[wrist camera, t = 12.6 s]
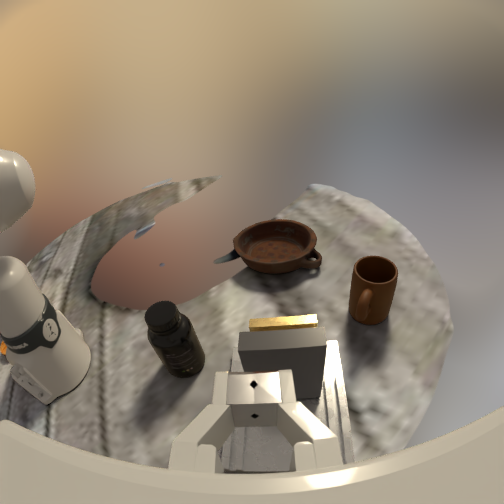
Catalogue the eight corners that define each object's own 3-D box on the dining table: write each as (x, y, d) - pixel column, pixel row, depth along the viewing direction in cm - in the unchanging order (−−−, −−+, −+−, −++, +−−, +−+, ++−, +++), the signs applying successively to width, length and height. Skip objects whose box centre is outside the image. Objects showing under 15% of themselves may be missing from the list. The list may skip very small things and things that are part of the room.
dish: (255, 229, 76) (253, 212, 73) (335, 246, 65) (336, 227, 62) (215, 266, 64) (210, 248, 62) (305, 294, 53) (305, 273, 50)
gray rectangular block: (252, 400, 34) (237, 350, 28) (254, 362, 40) (242, 305, 33) (320, 396, 33) (327, 345, 27) (316, 358, 39) (319, 300, 32)
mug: (375, 351, 40) (387, 310, 34) (332, 337, 44) (336, 295, 38) (392, 302, 47) (402, 260, 42) (355, 291, 51) (360, 250, 46)
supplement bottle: (162, 354, 45) (134, 305, 38) (198, 340, 47) (177, 288, 40) (172, 385, 39) (141, 338, 33) (212, 369, 41) (190, 318, 35)
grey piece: (222, 472, 27) (204, 456, 23) (235, 352, 44) (224, 317, 39) (352, 466, 26) (367, 449, 21) (335, 346, 42) (340, 309, 37)
